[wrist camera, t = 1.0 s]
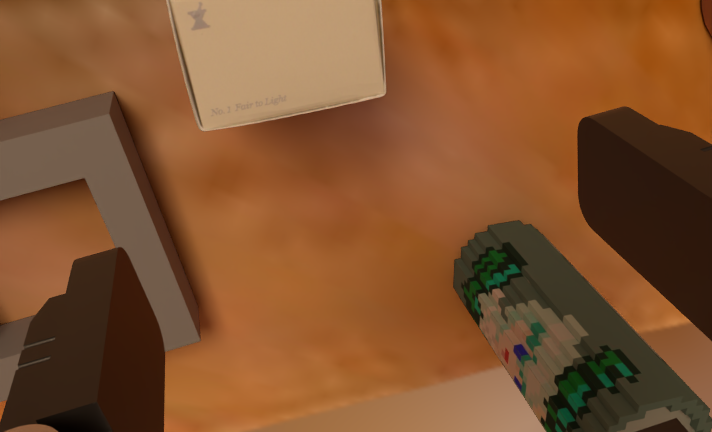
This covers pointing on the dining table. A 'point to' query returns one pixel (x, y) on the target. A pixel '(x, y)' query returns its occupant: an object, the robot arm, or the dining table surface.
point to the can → (566, 339)
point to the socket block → (113, 198)
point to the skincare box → (277, 57)
